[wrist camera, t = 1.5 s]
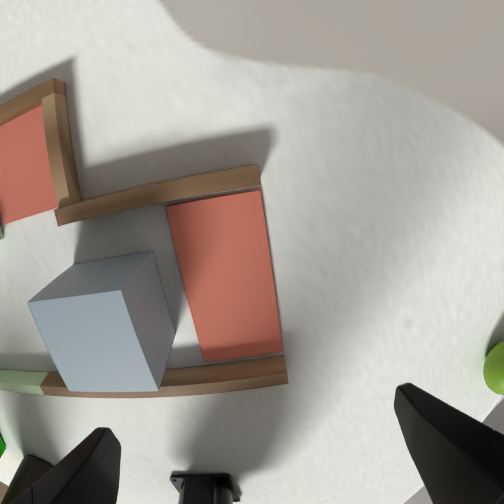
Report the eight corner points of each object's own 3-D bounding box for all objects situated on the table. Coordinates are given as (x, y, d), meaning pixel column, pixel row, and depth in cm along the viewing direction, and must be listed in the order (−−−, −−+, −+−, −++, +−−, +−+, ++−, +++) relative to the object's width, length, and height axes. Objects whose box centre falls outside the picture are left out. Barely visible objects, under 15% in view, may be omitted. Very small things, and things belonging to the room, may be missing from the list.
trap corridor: (284, 365, 22) (288, 383, 20) (-5, 376, 22) (-15, 387, 20) (235, 35, 15) (234, 23, 13) (-74, 164, 15) (-88, 167, 13)
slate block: (175, 332, 21) (158, 390, 15) (101, 339, 21) (69, 391, 15) (153, 249, 19) (120, 289, 13) (74, 263, 19) (27, 302, 13)
